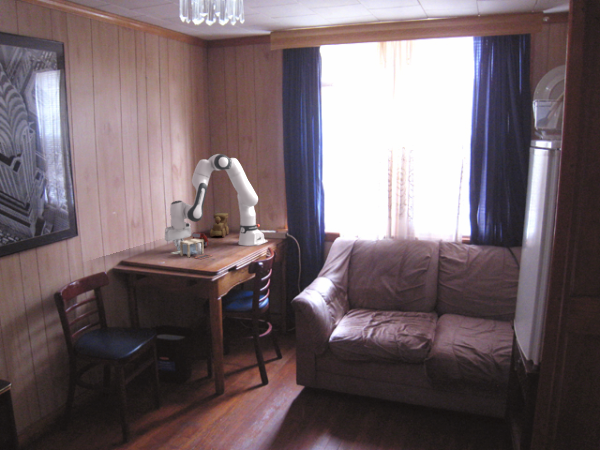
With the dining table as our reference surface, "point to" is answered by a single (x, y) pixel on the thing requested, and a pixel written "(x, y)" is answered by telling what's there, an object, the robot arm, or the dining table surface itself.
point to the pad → (176, 252)
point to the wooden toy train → (220, 225)
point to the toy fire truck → (199, 236)
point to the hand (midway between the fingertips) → (178, 245)
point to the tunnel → (188, 242)
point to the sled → (192, 248)
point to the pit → (203, 256)
